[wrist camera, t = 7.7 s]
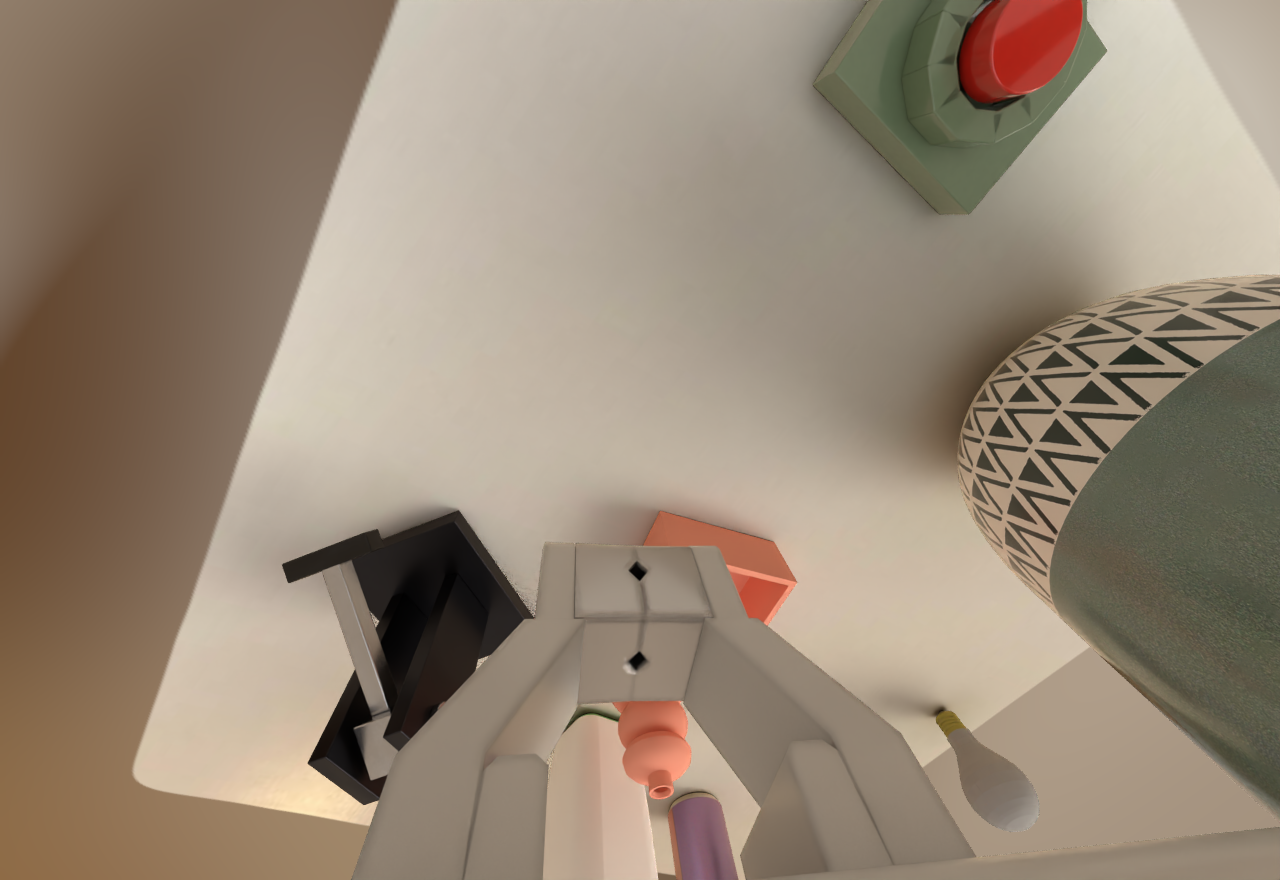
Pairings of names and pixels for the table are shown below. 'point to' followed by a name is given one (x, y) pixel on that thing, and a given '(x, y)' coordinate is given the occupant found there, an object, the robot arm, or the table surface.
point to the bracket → (420, 636)
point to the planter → (1151, 500)
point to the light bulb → (990, 780)
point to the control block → (938, 98)
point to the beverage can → (700, 839)
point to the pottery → (663, 725)
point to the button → (1018, 47)
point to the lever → (357, 640)
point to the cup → (595, 809)
